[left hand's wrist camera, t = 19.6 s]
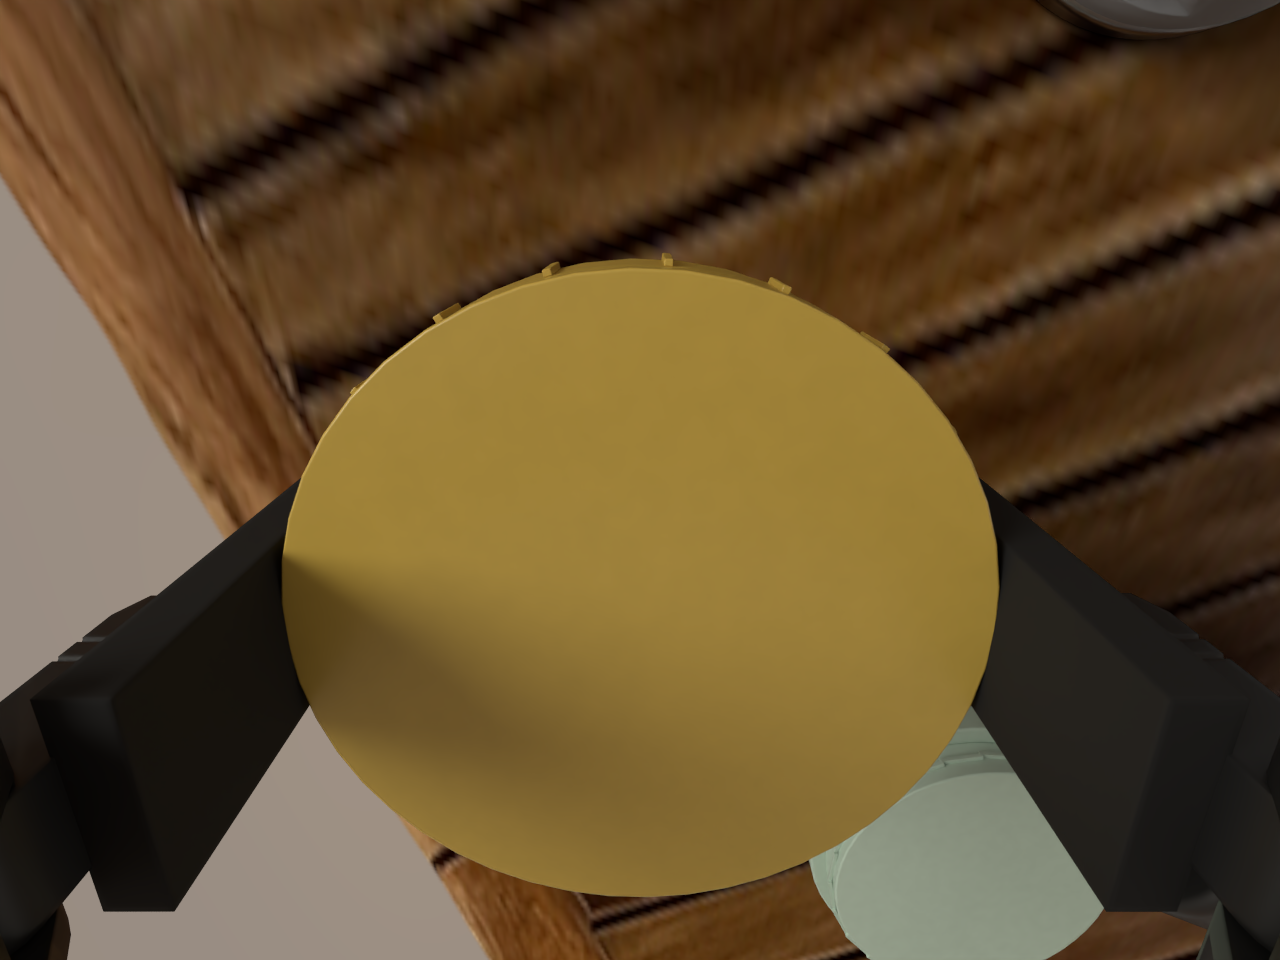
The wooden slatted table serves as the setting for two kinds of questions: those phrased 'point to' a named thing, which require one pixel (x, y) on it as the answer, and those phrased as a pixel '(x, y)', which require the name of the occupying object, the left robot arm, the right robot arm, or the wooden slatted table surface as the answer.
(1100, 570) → the wooden slatted table surface
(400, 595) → the lid
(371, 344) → the wooden slatted table surface
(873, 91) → the wooden slatted table surface
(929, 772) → the jar
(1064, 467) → the wooden slatted table surface
